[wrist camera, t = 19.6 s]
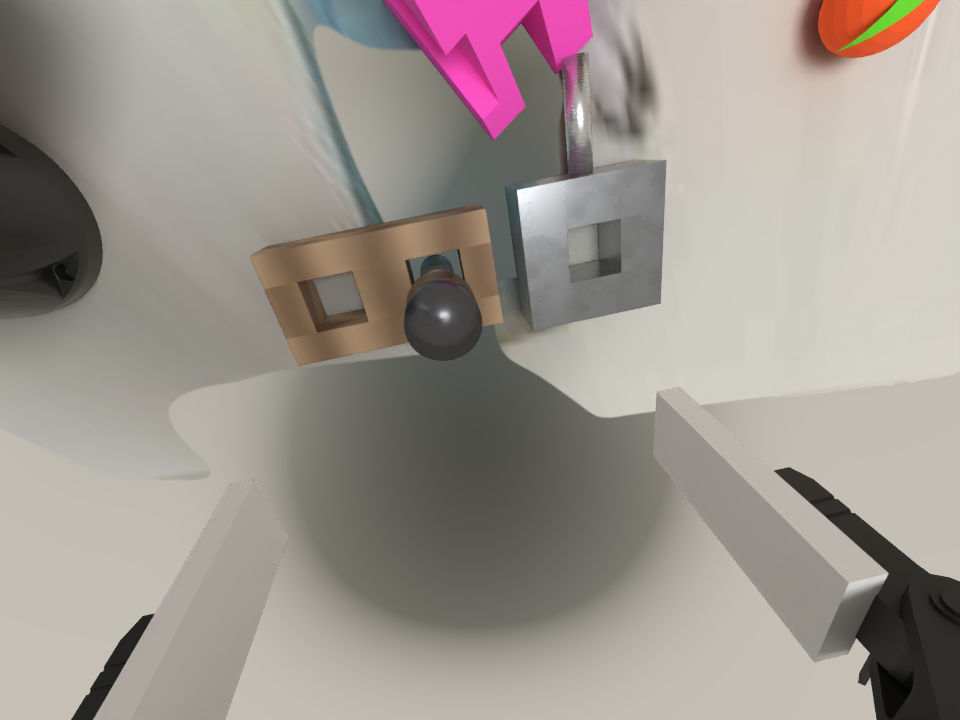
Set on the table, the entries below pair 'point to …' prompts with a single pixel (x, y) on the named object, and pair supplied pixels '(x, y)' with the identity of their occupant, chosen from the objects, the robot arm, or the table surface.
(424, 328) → the dark knobbed metal peg
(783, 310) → the table surface
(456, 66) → the bracket
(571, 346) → the table surface
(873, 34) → the clementine
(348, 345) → the stand
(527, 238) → the block
